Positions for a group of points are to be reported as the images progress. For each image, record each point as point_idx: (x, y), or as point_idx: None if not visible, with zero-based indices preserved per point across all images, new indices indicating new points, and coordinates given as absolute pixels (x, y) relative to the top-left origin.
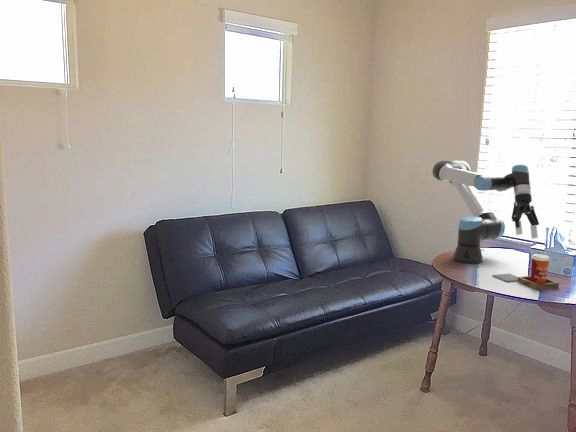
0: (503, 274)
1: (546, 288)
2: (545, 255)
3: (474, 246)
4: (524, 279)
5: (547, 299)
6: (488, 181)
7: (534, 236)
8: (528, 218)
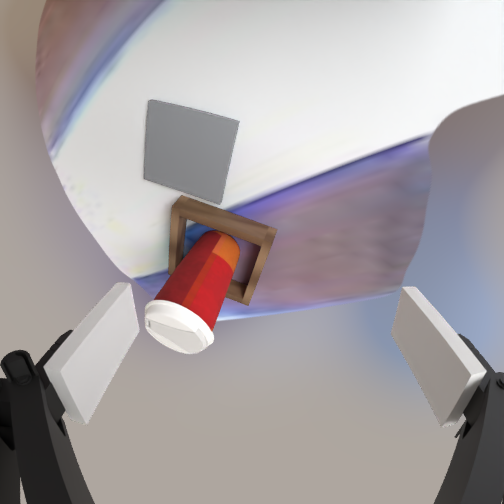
0: (196, 119)
1: None
2: (197, 345)
3: None
4: (172, 231)
5: (149, 292)
6: None
7: (402, 321)
8: (462, 483)
